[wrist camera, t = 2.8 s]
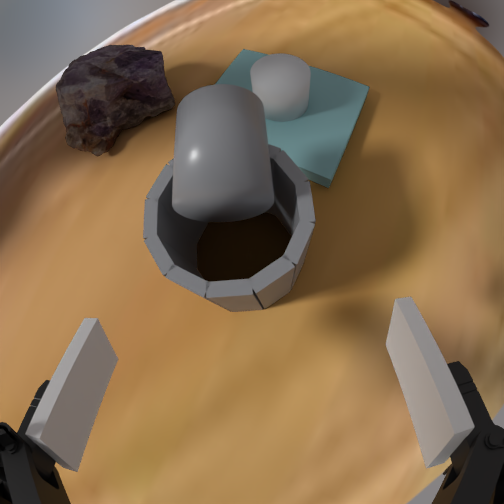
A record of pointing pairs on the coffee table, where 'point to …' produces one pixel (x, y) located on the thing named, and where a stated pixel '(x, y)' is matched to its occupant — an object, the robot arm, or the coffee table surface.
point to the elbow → (226, 195)
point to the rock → (111, 94)
